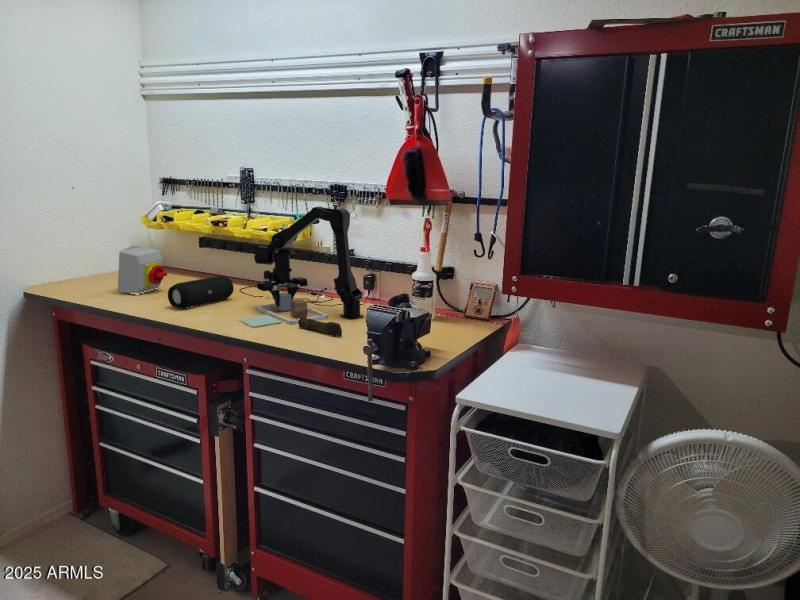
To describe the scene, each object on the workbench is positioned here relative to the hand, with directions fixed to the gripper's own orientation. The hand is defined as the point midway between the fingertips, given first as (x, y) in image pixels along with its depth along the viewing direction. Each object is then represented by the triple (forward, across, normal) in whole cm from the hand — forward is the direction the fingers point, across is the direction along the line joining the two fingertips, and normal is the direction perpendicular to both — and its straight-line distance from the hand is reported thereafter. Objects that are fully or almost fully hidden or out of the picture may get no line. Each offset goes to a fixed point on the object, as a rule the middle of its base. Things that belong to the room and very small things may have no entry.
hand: (283, 305), depth 226 cm
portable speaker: (+2, +21, -28) cm, 35 cm away
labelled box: (+2, 0, 0) cm, 2 cm away
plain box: (+2, 0, +12) cm, 12 cm away
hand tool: (+2, +3, +34) cm, 34 cm away
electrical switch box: (+2, +33, -62) cm, 70 cm away
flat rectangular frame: (+2, 0, +6) cm, 6 cm away
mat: (+2, +15, +11) cm, 19 cm away
